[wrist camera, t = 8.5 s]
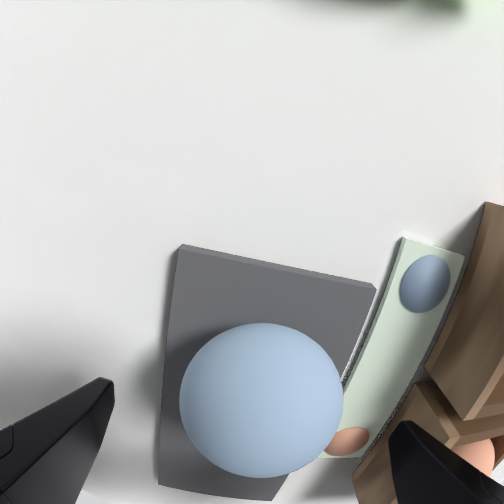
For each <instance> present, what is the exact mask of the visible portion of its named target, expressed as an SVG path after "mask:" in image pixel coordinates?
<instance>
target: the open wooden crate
mask: <svg viewBox="0 0 504 504" xmlns="http://www.w3.org/2000/svg"><path fill="white" fill-rule="evenodd" d="M424 367H425V369H426V370H427V371H428V373H429V374H430V376H431V377H432V378H433V380H434V381H435V382H436V384H437V385H438V386H439V388H440V389H441V391H442V392H443V393H444V395H445V396H446V398H447V399H448V400H449V402H450V403H451V405H452V406H453V407H454V409H455V410H456V412H457V413H458V415H459V416H460V417H461V419H462V420H463V421H465V420H472V419H478V418H483V417H489V416H494V415H499V414H504V206H501V205H497V204H494V203H490V202H486V203H485V207H484V211H483V215H482V219H481V223H480V226H479V230H478V234H477V237H476V240H475V244H474V247H473V250H472V253H471V257H470V260H469V263H468V266H467V268H466V271H465V274H464V277H463V280H462V282H461V285H460V288H459V290H458V293H457V296H456V298H455V301H454V303H453V305H452V308H451V310H450V313H449V315H448V317H447V320H446V322H445V324H444V326H443V329H442V331H441V333H440V335H439V337H438V339H437V341H436V343H435V346H434V348H433V350H432V352H431V354H430V356H429V357H428V359H427V361H426V363H425V365H424Z"/></svg>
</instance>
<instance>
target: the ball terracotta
mask: <svg viewBox="0 0 504 504" xmlns="http://www.w3.org/2000/svg"><path fill="white" fill-rule="evenodd" d="M451 450H452V451H453V452H455V453H456V454H458V455H459V456H460V457H462V458H463V459H464V460H466V461H467V462H469V463H470V464H471V465H473V466H474V467H476V468H477V469H478V470H480V472H483V473H484V474H485V475H487V476H488V477H490V475H491V472H492V470H493V466H494V460H495V454H494V447H493V444H492V442H491V440H490V439H486V440H482V441H478V442H474V443H470V444H466V445H461V446H456V447H452V448H451Z"/></svg>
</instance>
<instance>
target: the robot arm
mask: <svg viewBox="0 0 504 504" xmlns="http://www.w3.org/2000/svg"><path fill="white" fill-rule="evenodd" d="M114 403H115V397H114V384H113V381H111V380H109V379H106V378H103V377H99V378H97V379H95V380H93V381H92V382H90V383H88V384H86V385H84V386H83V387H81V388H79V389H77V390H75V391H73V392H72V393H70V394H68V395H66V396H64V397H63V398H61V399H59V400H57V401H55V402H53V403H51V404H50V405H48V406H46V407H44V408H42V409H40V410H38V411H37V412H35V413H33V414H31V415H29V416H27V417H25V418H23V419H21V420H20V421H18V422H16V423H14V424H13V425H10V426H8V427H6V428H4V429H2V430H0V504H75V503H76V500H77V498H78V496H79V493H80V491H81V489H82V487H83V484H84V482H85V480H86V478H87V475H88V473H89V471H90V469H91V467H92V465H93V462H94V460H95V458H96V456H97V454H98V452H99V449H100V447H101V444H102V441H103V438H104V435H105V432H106V428H107V425H108V422H109V419H110V416H111V413H112V410H113V407H114ZM388 448H389V455H390V464H391V472H392V479H393V484H394V489H395V493H396V498H397V503H398V504H504V486H502V485H501V484H499V483H497V482H496V481H494V480H493V479H491V478H490V477H488V476H487V475H485V474H484V473H483V472H480V470H478V469H477V468H476V467H474V466H473V465H471V464H470V463H469V462H467V461H466V460H464V459H463V458H462V457H460V456H459V455H458V454H456V453H455V452H453V451H452V450H451V449H449V448H448V447H447V446H445V445H444V444H443V443H441V442H440V441H439V440H437V439H436V438H435V437H433V436H432V435H431V434H429V433H428V432H427V431H425V430H424V429H423V428H421V427H420V426H419V425H417V424H416V423H415V422H413V421H412V420H402V421H400V422H399V423H398V424H397V425H396V427H395V428H394V430H393V431H392V433H391V434H390V436H389V438H388Z"/></svg>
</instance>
